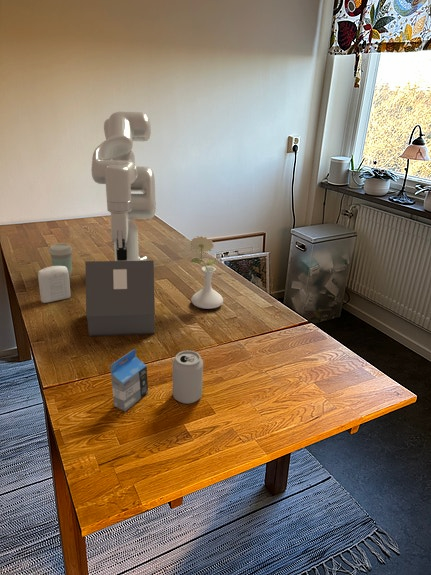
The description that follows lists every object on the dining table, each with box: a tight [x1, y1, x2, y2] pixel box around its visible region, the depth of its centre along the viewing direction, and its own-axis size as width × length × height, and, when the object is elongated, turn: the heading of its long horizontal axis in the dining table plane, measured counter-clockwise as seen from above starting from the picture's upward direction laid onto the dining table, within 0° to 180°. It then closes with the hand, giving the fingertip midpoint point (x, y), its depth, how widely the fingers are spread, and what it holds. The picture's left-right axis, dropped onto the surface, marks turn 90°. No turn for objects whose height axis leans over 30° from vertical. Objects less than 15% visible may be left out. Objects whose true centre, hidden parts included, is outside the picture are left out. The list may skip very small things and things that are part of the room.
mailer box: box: [86, 314, 155, 337], centre depth 146 cm, size 16×20×7 cm
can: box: [172, 350, 204, 404], centre depth 113 cm, size 8×8×12 cm
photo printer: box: [37, 265, 72, 304], centre depth 158 cm, size 10×4×12 cm, turn 123°
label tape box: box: [110, 348, 149, 412], centre depth 111 cm, size 9×4×12 cm, turn 148°
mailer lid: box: [84, 259, 156, 318], centre depth 138 cm, size 17×20×1 cm
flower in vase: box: [189, 236, 224, 310], centre depth 156 cm, size 13×11×25 cm
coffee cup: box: [48, 243, 73, 278], centre depth 176 cm, size 8×9×12 cm
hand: (122, 259), depth 150 cm, fingers closed
